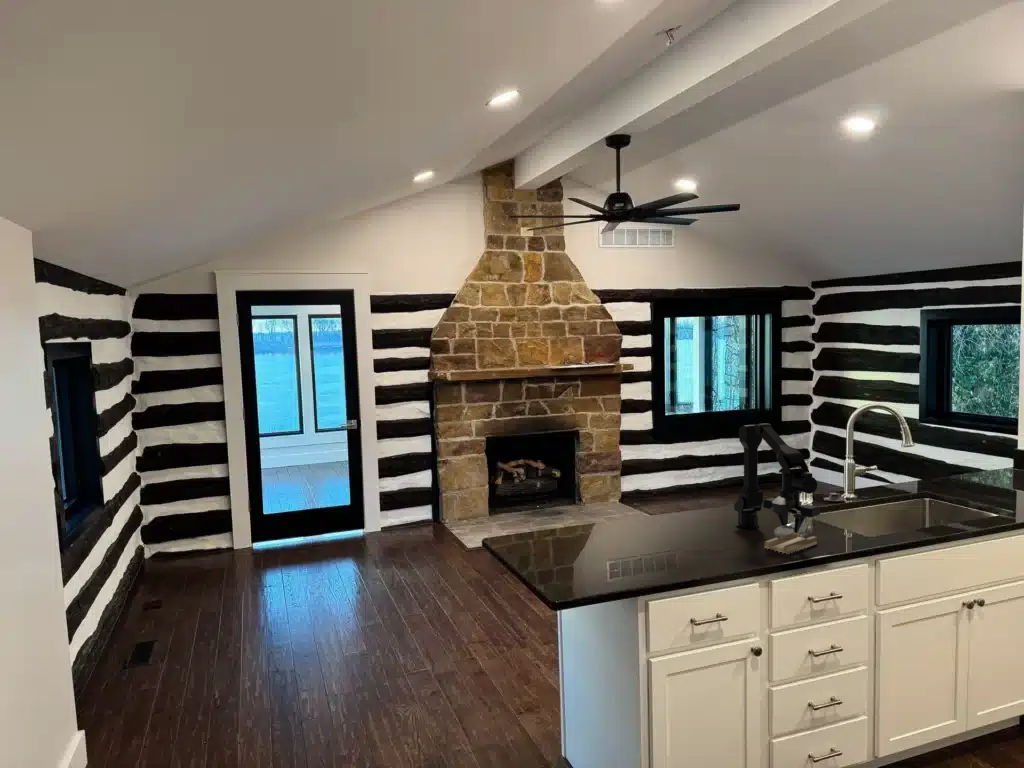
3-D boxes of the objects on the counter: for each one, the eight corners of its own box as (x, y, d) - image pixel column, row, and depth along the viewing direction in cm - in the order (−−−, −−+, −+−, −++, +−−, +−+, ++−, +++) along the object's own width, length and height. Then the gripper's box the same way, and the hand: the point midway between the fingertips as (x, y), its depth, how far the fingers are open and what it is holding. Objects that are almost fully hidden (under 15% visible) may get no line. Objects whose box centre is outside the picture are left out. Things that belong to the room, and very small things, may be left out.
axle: (784, 540, 250) (784, 528, 250) (773, 537, 253) (774, 526, 253) (806, 532, 259) (806, 521, 258) (796, 529, 262) (796, 518, 261)
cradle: (764, 548, 254) (764, 541, 254) (793, 538, 265) (793, 531, 265) (787, 554, 247) (788, 547, 247) (816, 543, 258) (816, 537, 258)
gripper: (754, 486, 257) (753, 530, 258) (803, 495, 242) (802, 541, 244) (772, 481, 264) (772, 524, 265) (821, 490, 249) (820, 535, 250)
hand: (790, 531), depth 256 cm, fingers closed on axle, 4 cm apart
